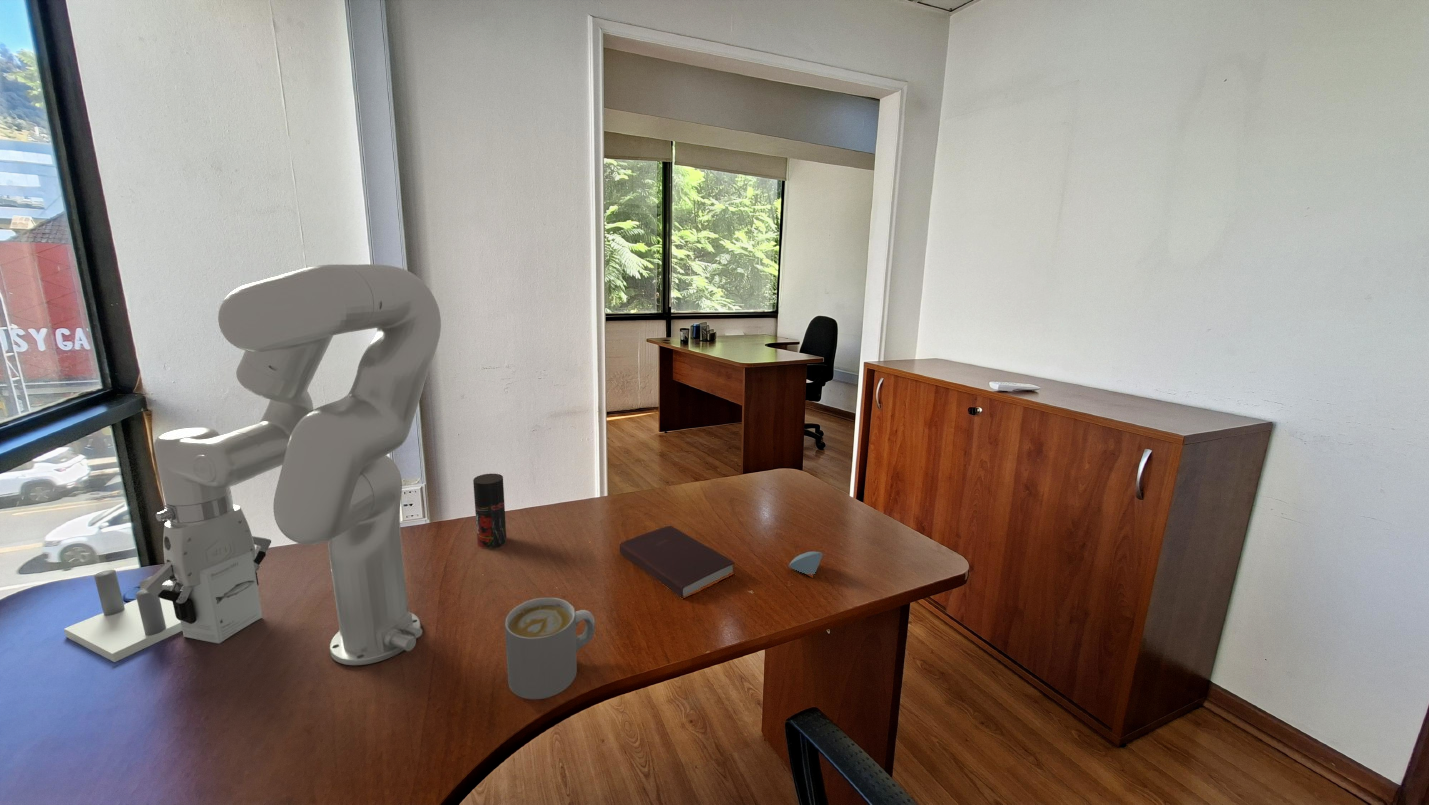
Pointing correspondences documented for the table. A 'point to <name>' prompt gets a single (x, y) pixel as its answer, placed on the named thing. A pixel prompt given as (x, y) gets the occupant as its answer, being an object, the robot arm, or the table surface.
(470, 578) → the table surface
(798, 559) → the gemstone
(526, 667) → the coffee mug
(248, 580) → the supplement box
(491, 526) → the deodorant
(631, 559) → the book
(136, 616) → the cradle
